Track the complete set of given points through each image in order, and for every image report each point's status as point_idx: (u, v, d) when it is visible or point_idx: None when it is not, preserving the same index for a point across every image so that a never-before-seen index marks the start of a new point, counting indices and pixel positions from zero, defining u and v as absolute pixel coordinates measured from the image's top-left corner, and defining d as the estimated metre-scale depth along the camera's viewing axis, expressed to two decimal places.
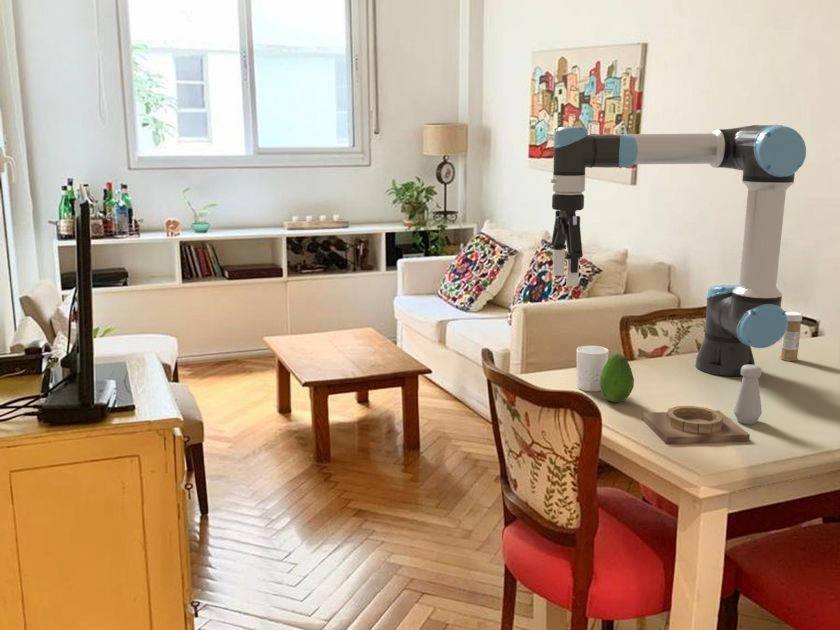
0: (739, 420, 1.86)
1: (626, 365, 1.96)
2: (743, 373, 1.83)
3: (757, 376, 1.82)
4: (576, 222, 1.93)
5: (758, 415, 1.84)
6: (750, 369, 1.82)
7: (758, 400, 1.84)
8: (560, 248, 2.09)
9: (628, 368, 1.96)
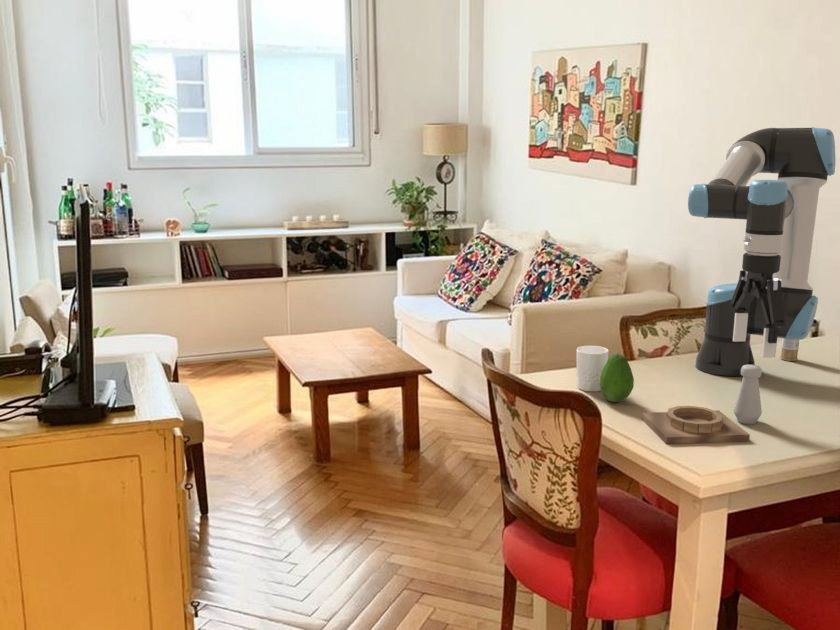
0: (739, 420, 1.86)
1: (626, 365, 1.96)
2: (743, 373, 1.83)
3: (757, 376, 1.82)
4: (777, 287, 1.73)
5: (758, 415, 1.84)
6: (750, 369, 1.82)
7: (758, 400, 1.84)
8: (742, 311, 1.88)
9: (628, 368, 1.96)
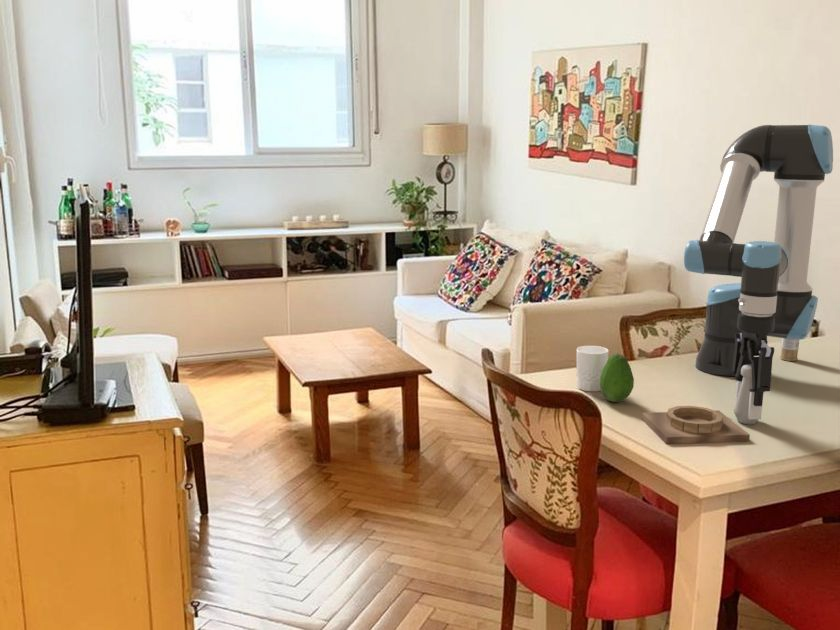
0: (739, 420, 1.86)
1: (626, 365, 1.96)
2: (743, 373, 1.83)
3: None
4: (769, 355, 1.77)
5: None
6: (750, 369, 1.82)
7: None
8: None
9: (628, 368, 1.96)
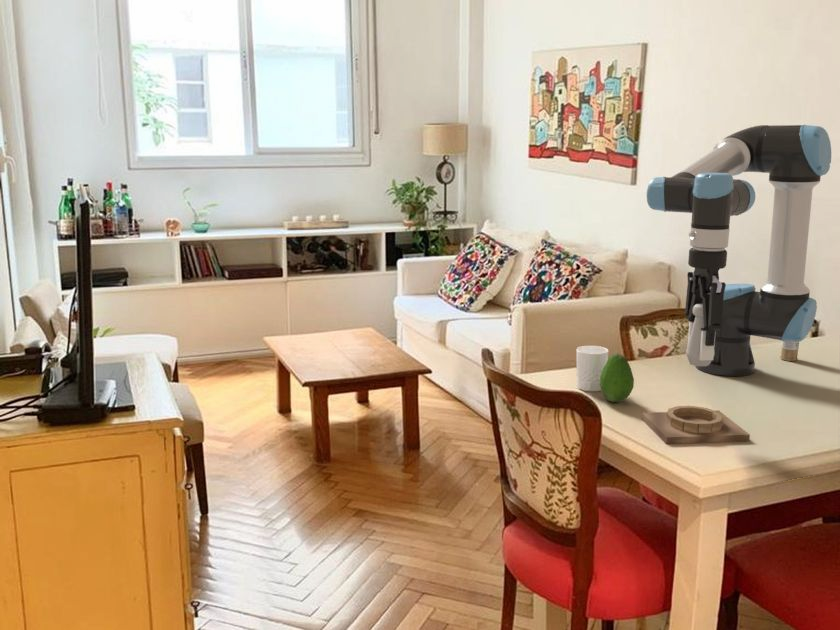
0: (691, 362, 1.77)
1: (626, 365, 1.96)
2: (695, 312, 1.75)
3: None
4: (720, 290, 1.68)
5: None
6: (702, 307, 1.74)
7: None
8: None
9: (628, 368, 1.96)
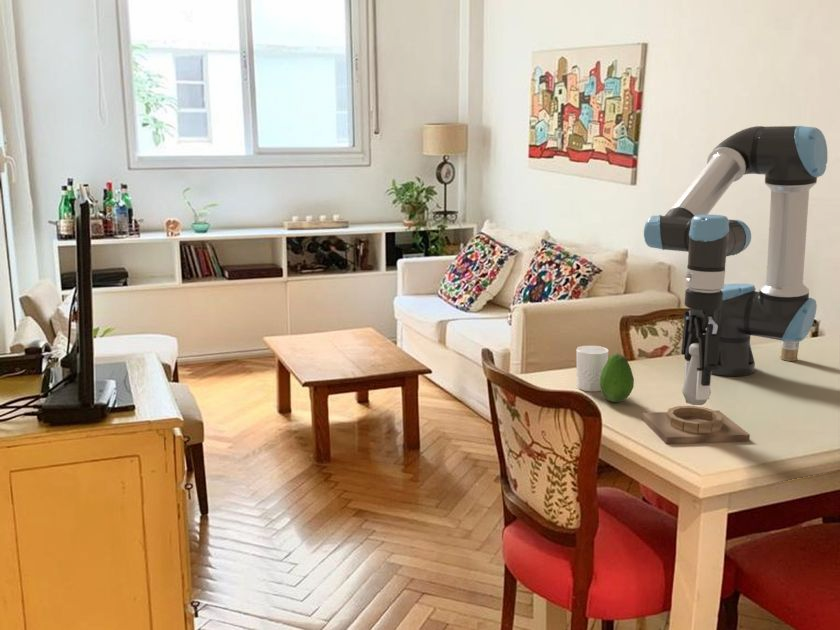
0: (687, 401, 1.79)
1: (626, 365, 1.96)
2: (691, 351, 1.77)
3: None
4: (716, 332, 1.70)
5: None
6: (698, 347, 1.76)
7: None
8: None
9: (628, 368, 1.96)
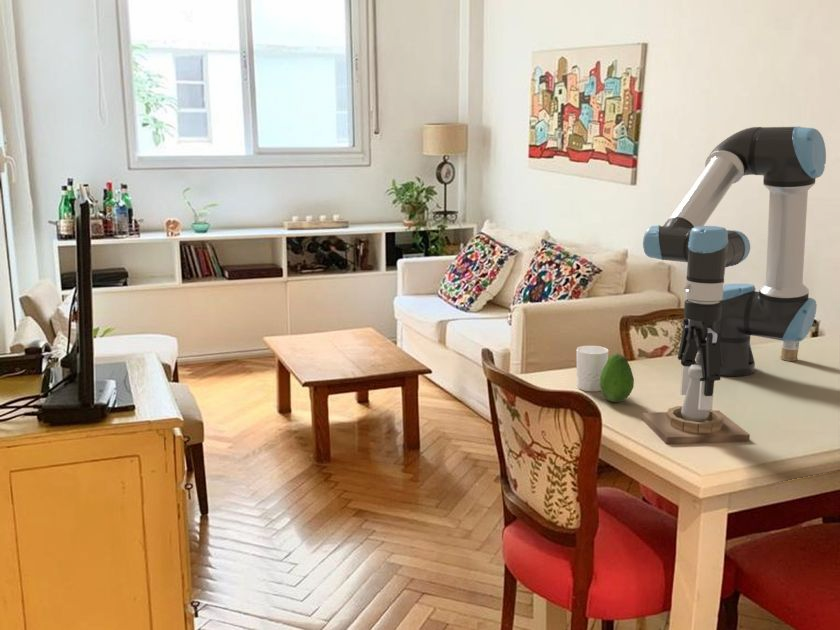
0: None
1: (626, 365, 1.96)
2: (690, 374, 1.78)
3: None
4: (716, 340, 1.70)
5: (705, 417, 1.79)
6: (697, 370, 1.76)
7: None
8: (690, 363, 1.84)
9: (628, 368, 1.96)
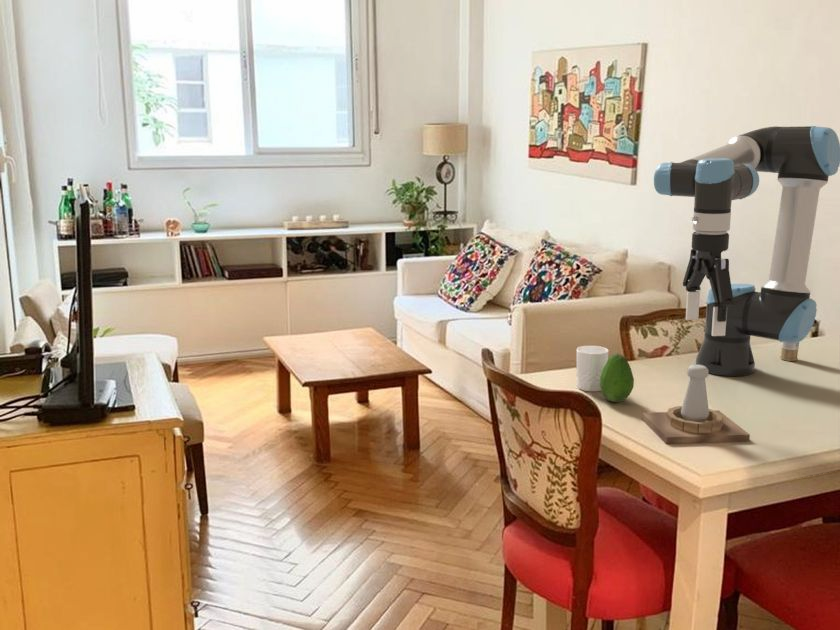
0: None
1: (626, 365, 1.96)
2: (689, 373, 1.78)
3: (703, 376, 1.77)
4: (725, 266, 1.73)
5: (705, 417, 1.79)
6: (696, 369, 1.77)
7: (705, 401, 1.79)
8: (694, 290, 1.89)
9: (628, 368, 1.96)
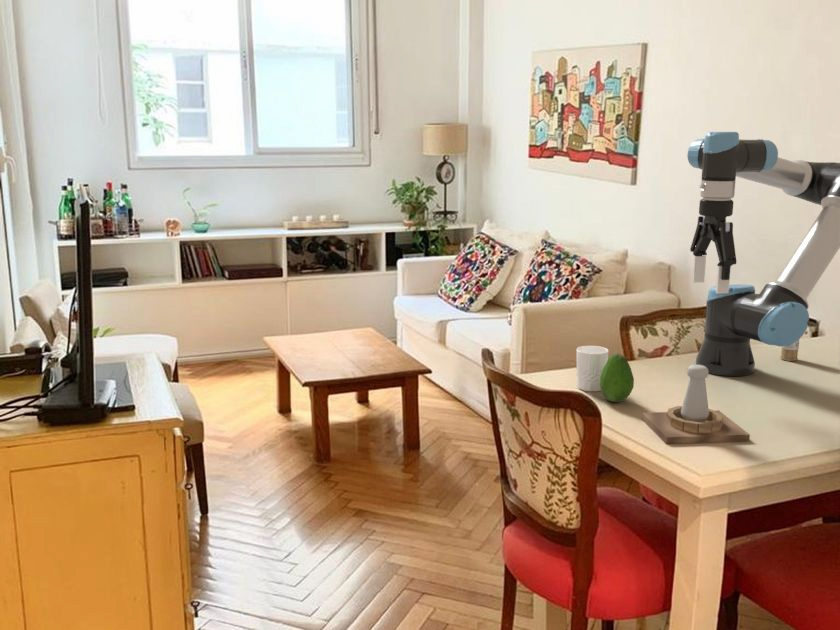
0: None
1: (626, 365, 1.96)
2: (689, 373, 1.78)
3: (703, 376, 1.77)
4: (729, 228, 1.90)
5: (705, 417, 1.79)
6: (696, 369, 1.77)
7: (705, 401, 1.79)
8: (701, 254, 2.05)
9: (628, 368, 1.96)
